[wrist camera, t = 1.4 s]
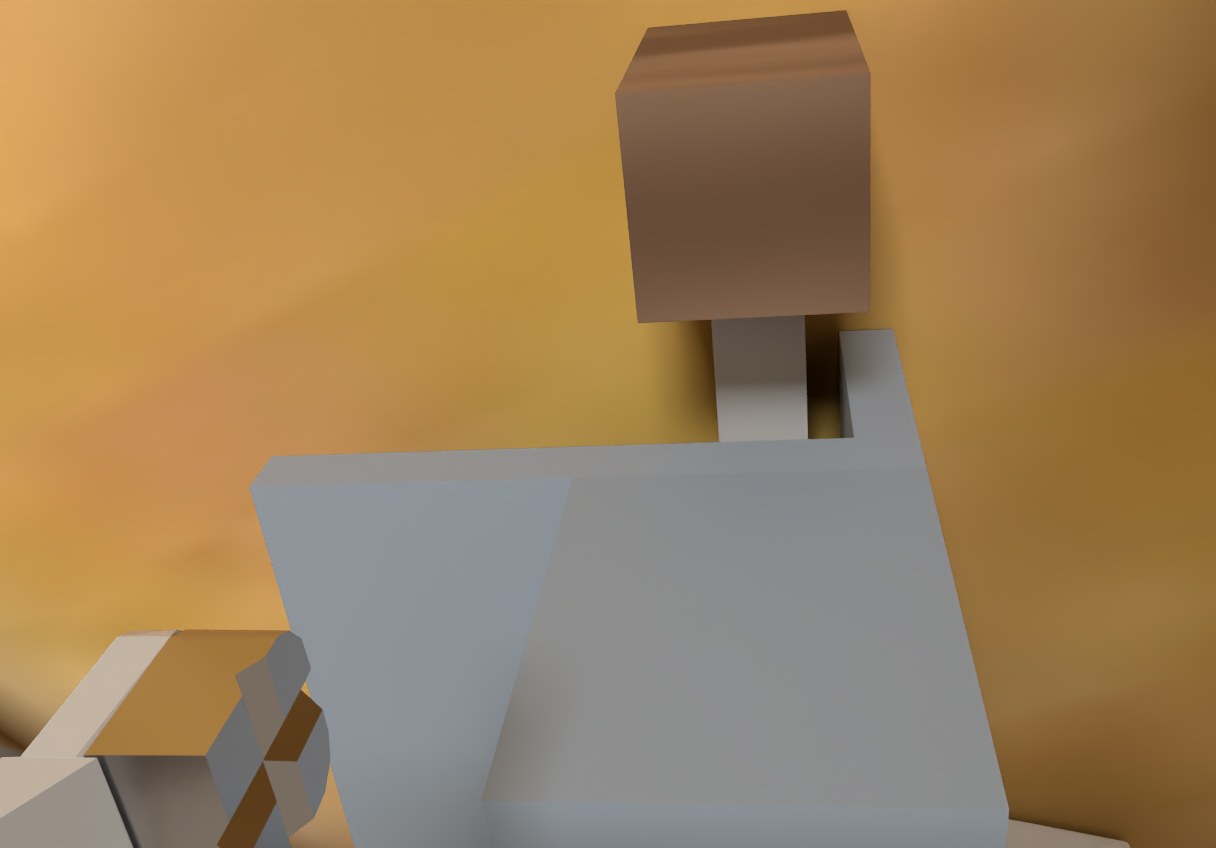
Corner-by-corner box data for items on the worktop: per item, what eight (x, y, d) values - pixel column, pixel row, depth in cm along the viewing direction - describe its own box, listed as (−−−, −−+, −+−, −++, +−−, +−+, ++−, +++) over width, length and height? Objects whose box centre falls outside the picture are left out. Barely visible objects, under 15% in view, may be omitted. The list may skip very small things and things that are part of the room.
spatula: (648, 27, 24) (615, 94, 18) (845, 10, 23) (870, 73, 18) (701, 670, 32) (689, 843, 26) (850, 670, 31) (867, 847, 26)
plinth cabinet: (348, 353, 28) (20, 793, 16) (892, 329, 26) (1009, 809, 14) (445, 774, 35) (267, 1318, 22) (886, 780, 33) (961, 1381, 20)
